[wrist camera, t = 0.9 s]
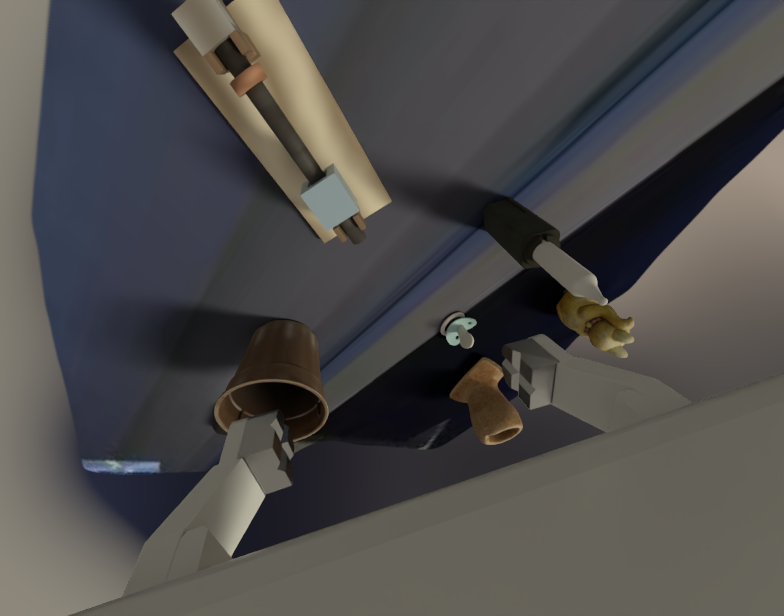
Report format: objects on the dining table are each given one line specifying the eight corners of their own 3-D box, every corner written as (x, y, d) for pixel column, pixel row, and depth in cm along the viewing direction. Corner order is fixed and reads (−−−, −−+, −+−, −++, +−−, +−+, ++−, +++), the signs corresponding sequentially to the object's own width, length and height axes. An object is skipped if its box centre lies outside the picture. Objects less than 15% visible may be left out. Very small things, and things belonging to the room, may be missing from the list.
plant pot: (244, 373, 63) (224, 449, 50) (231, 309, 54) (202, 382, 41) (327, 370, 67) (327, 441, 54) (328, 309, 57) (329, 377, 45)
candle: (484, 233, 53) (578, 328, 34) (483, 204, 50) (585, 291, 30) (513, 224, 53) (623, 315, 34) (514, 195, 50) (636, 276, 30)
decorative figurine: (586, 309, 69) (640, 358, 57) (550, 322, 69) (596, 374, 58) (589, 274, 63) (650, 322, 51) (550, 289, 63) (601, 339, 52)
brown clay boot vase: (476, 401, 83) (501, 455, 71) (441, 392, 78) (462, 449, 66) (515, 363, 76) (550, 417, 64) (479, 351, 71) (509, 406, 59)
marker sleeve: (333, 162, 37) (334, 172, 34) (356, 198, 40) (359, 211, 37) (302, 183, 38) (300, 195, 35) (327, 217, 41) (327, 231, 38)
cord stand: (265, -23, 31) (246, -53, 24) (390, 198, 47) (403, 223, 39) (177, 52, 34) (133, 46, 26) (324, 239, 49) (324, 271, 41)
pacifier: (433, 331, 65) (455, 340, 68) (441, 352, 60) (464, 361, 63) (454, 305, 62) (476, 315, 65) (464, 325, 57) (488, 335, 60)
